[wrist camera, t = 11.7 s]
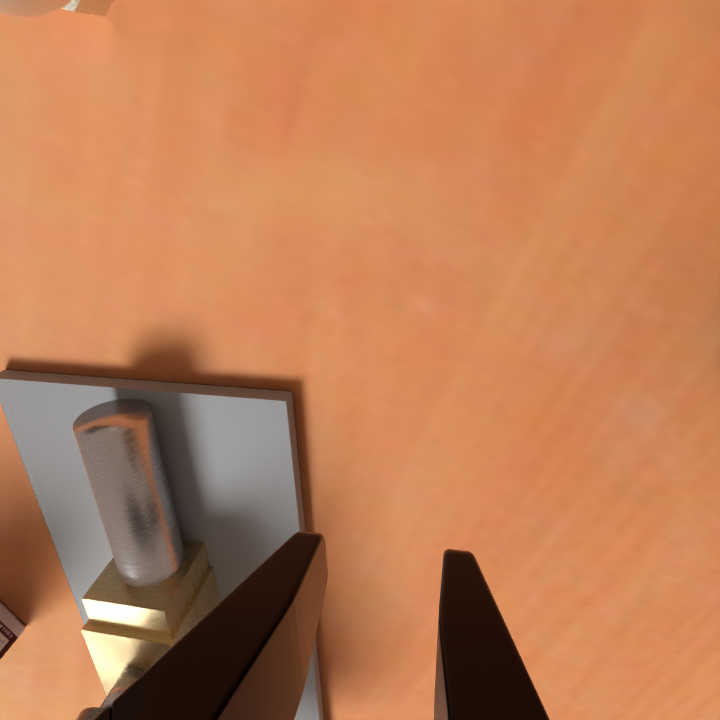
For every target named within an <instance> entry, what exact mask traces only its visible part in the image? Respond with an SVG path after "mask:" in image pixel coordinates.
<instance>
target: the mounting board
mask: <svg viewBox="0 0 720 720" xmlns="http://www.w3.org/2000/svg"><path fill="white" fill-rule="evenodd" d="M118 399H137V400H141V401H144V402H146V403H147V404H149V406H150V407H151V411H152V415H153V420H154V424H155V428H156V432H157V437H158V441H159V445H160V449H161V454H162V458H163V462H164V466H165V471H166V475H167V479H168V483H169V488H170V492H171V496H172V500H173V505H174V509H175V513H176V517H177V521H178V526H179V530H180V534H181V538H182V540H186V541H194V542H201V543H205V546H206V551H207V555H208V560H209V565H210V566H211V567H214V572H215V577H216V581H217V586H218V591H219V596H220V601H222V600H223V599H224V598H225V597H226V596H227V595H229V594H230V593H231V592H232V591H233V590H234V589H235V588H236V587H237V586H238V585H239V584H240V583H242V582H243V581H244V580H245V579H246V578H247V577H248V576H249V575H250V574H251V573H252V572H253V571H255V570H256V569H257V568H258V567H259V566H260V565H261V564H262V563H263V562H264V561H265V560H266V559H268V558H269V557H270V556H271V555H272V554H273V553H274V552H275V551H276V550H277V549H278V548H279V547H281V546H282V545H283V544H284V543H285V542H286V541H287V540H288V539H289V538H290V537H291V536H292V535H294V534H295V533H296V532H299V531H305V532H306V530H305V520H304V509H303V499H302V489H301V479H300V469H299V458H298V448H297V438H296V428H295V418H294V407H293V397H292V391H280V390H266V389H253V388H240V387H226V386H213V385H200V384H186V383H173V382H160V381H147V380H133V379H120V378H107V377H93V376H80V375H67V374H53V373H40V372H27V371H14V370H3V371H2V372H0V403H1V406H2V408H3V411H4V414H5V416H6V419H7V422H8V424H9V427H10V429H11V432H12V435H13V437H14V440H15V443H16V445H17V448H18V451H19V453H20V456H21V459H22V461H23V464H24V466H25V469H26V472H27V474H28V477H29V480H30V482H31V485H32V488H33V490H34V493H35V496H36V498H37V501H38V503H39V506H40V509H41V511H42V514H43V517H44V519H45V522H46V525H47V527H48V530H49V533H50V535H51V538H52V540H53V543H54V546H55V548H56V551H57V554H58V556H59V559H60V562H61V564H62V567H63V570H64V572H65V575H66V577H67V580H68V583H69V585H70V588H71V591H72V593H73V596H74V599H75V601H76V604H77V607H78V609H79V612H80V615H81V617H82V620H83V622H84V625H85V624H86V623H87V621H88V620H89V617H88V614H87V611H86V609H85V606H84V603H83V601H82V597H83V596H84V595H85V593H86V592H87V591H88V590H89V588H90V587H91V586H92V584H93V583H94V582H95V580H96V579H97V578H98V577H99V575H100V574H101V573H102V571H103V570H104V569H105V567H106V566H107V565H108V563H109V562H110V561H111V560H112V558H113V554H112V551H111V548H110V545H109V541H108V538H107V535H106V532H105V529H104V526H103V522H102V519H101V516H100V513H99V510H98V507H97V504H96V500H95V497H94V494H93V491H92V488H91V485H90V481H89V478H88V475H87V472H86V469H85V466H84V463H83V459H82V456H81V453H80V450H79V447H78V444H77V440H76V437H75V434H74V431H73V423H74V421H75V420H76V419H77V417H78V416H79V415H81V414H82V413H83V412H85V411H86V410H88V409H90V408H92V407H94V406H96V405H99V404H101V403H105V402H108V401H113V400H118ZM294 720H324V713H323V703H322V693H321V683H320V673H319V662H318V652H317V642H316V637H315V642H314V647H313V651H312V656H311V661H310V666H309V670H308V674H307V678H306V683H305V687H304V690H303V694H302V697H301V701H300V704H299V707H298V710H297V713H296V716H295V719H294Z"/></svg>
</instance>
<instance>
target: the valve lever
mask: <svg viewBox="0 0 720 720" xmlns="http://www.w3.org/2000/svg"><path fill="white" fill-rule="evenodd" d="M103 710H104V709H102V708H94V707H92V708H86V709H84V710H82V711H81V713H80V714H79V716H78V717H77V719H76V720H93V719H94V718H95V717H96V716H97V715H98V714H99V713H100V712H101V711H103Z"/></svg>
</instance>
